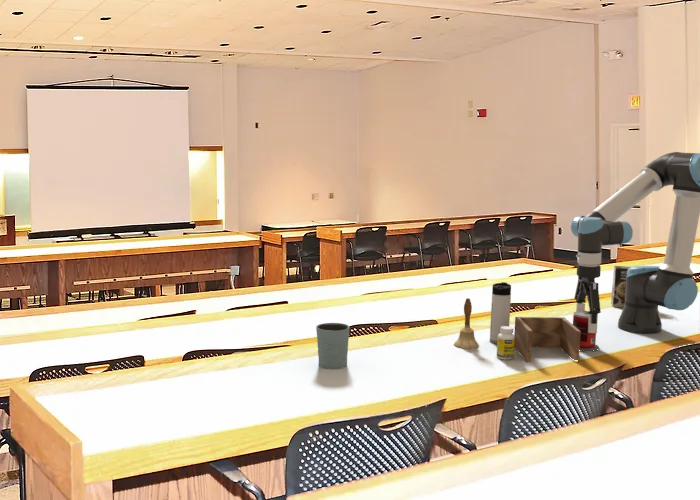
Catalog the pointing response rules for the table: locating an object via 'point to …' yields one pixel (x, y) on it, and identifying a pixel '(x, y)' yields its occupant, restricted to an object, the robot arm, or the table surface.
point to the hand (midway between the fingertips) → (586, 327)
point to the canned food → (584, 329)
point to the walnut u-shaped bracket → (546, 335)
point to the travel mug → (499, 309)
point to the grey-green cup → (332, 345)
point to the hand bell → (467, 330)
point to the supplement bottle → (506, 343)
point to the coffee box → (619, 286)
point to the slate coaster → (590, 348)
